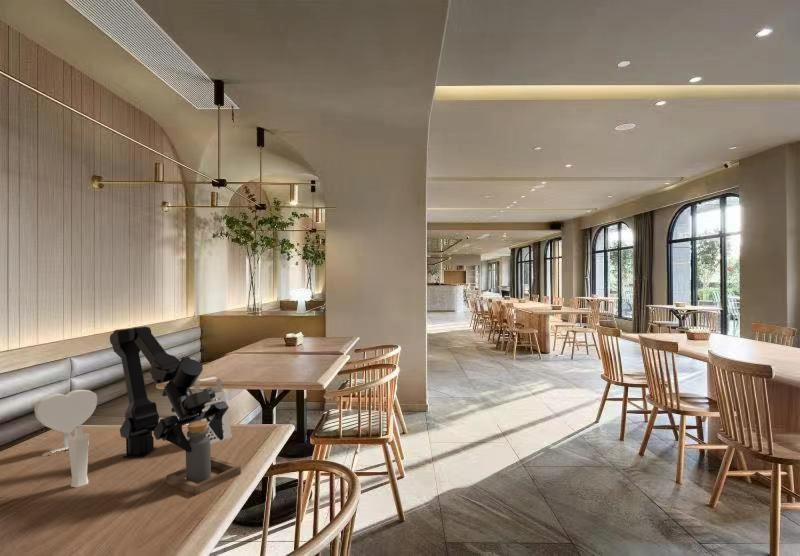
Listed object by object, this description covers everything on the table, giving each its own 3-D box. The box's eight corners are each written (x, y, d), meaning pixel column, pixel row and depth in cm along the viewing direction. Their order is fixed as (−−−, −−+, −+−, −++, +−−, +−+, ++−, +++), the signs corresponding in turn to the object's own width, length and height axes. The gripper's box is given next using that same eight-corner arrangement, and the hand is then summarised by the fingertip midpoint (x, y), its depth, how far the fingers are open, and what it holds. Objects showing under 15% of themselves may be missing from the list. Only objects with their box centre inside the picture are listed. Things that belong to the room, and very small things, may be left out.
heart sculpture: (93, 439, 142) (92, 386, 142) (99, 442, 138) (98, 388, 139) (34, 455, 129) (33, 397, 129) (38, 458, 126) (37, 399, 126)
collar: (166, 483, 108) (166, 475, 108) (211, 464, 119) (211, 457, 119) (195, 495, 101) (195, 487, 101) (240, 473, 112) (240, 466, 112)
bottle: (209, 484, 107) (207, 426, 107) (184, 487, 105) (182, 428, 105) (212, 474, 113) (211, 419, 113) (189, 477, 111) (187, 421, 111)
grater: (231, 437, 140) (230, 378, 140) (200, 447, 132) (198, 384, 132) (217, 430, 147) (216, 374, 147) (186, 439, 139) (185, 379, 139)
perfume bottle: (95, 480, 110) (94, 424, 111) (78, 488, 106) (77, 430, 106) (83, 478, 112) (82, 423, 112) (66, 486, 108) (65, 428, 108)
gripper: (158, 387, 105) (184, 439, 99) (224, 373, 121) (249, 416, 115) (142, 414, 109) (167, 465, 103) (208, 396, 125) (232, 440, 119)
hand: (206, 445), depth 110 cm, fingers open, 9 cm apart
